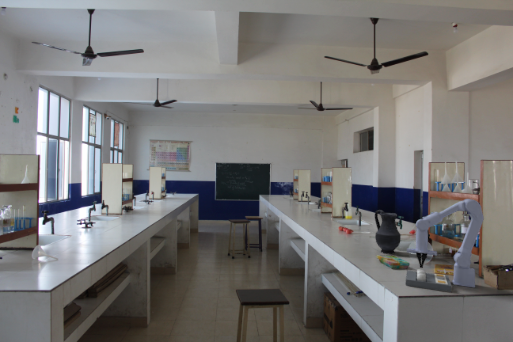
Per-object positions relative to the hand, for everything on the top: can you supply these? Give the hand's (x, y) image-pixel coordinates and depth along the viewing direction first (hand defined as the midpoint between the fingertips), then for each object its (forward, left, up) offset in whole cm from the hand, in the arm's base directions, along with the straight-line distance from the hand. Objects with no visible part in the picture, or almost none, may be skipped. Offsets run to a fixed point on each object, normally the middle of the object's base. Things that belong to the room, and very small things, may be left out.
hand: (421, 267), depth 189 cm
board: (-3, +7, -6) cm, 10 cm away
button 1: (0, 0, -6) cm, 6 cm away
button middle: (0, +6, -4) cm, 8 cm away
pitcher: (+23, -66, -7) cm, 71 cm away
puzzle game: (+16, -27, -7) cm, 32 cm away
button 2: (0, +13, -5) cm, 14 cm away
